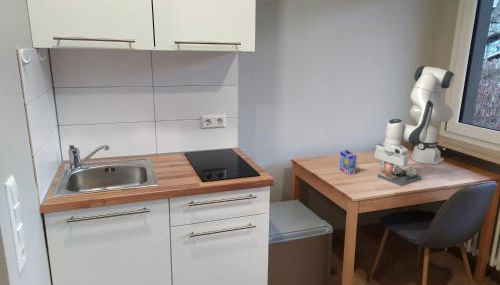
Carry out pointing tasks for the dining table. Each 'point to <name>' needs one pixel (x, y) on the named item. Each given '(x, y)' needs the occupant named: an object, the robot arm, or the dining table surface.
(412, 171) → the toggle
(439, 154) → the robot arm
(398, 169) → the toggle
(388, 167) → the cap
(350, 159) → the ink cartridge box
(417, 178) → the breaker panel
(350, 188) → the dining table surface
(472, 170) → the dining table surface
